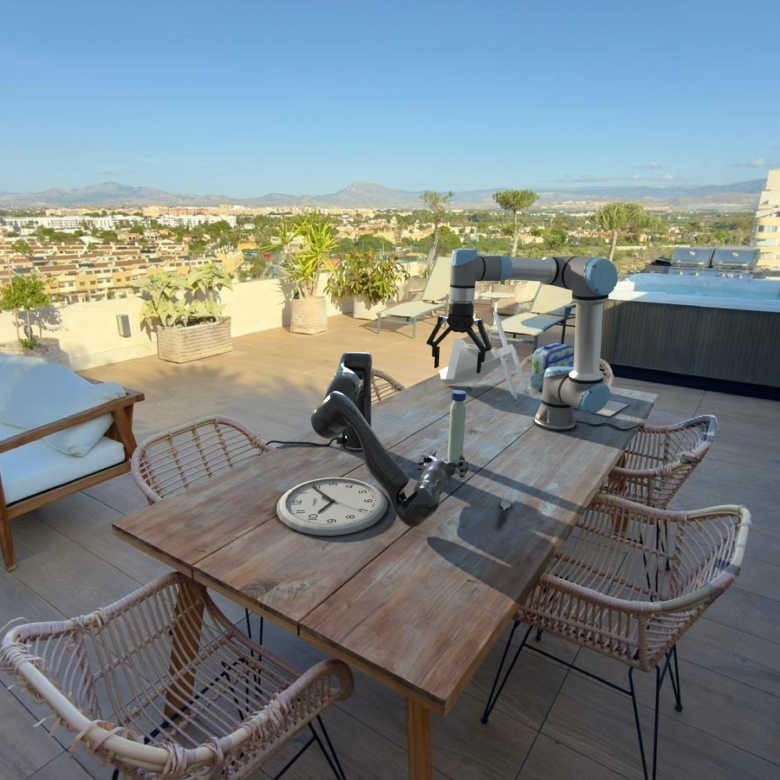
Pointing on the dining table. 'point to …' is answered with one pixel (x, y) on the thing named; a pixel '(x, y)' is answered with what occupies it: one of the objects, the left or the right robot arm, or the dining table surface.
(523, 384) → the white plastic object
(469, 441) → the dining table surface
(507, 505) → the fork
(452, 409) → the bottle
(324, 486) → the wall clock
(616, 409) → the invitation card
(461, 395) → the cap
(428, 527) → the dining table surface
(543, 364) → the lunch box
